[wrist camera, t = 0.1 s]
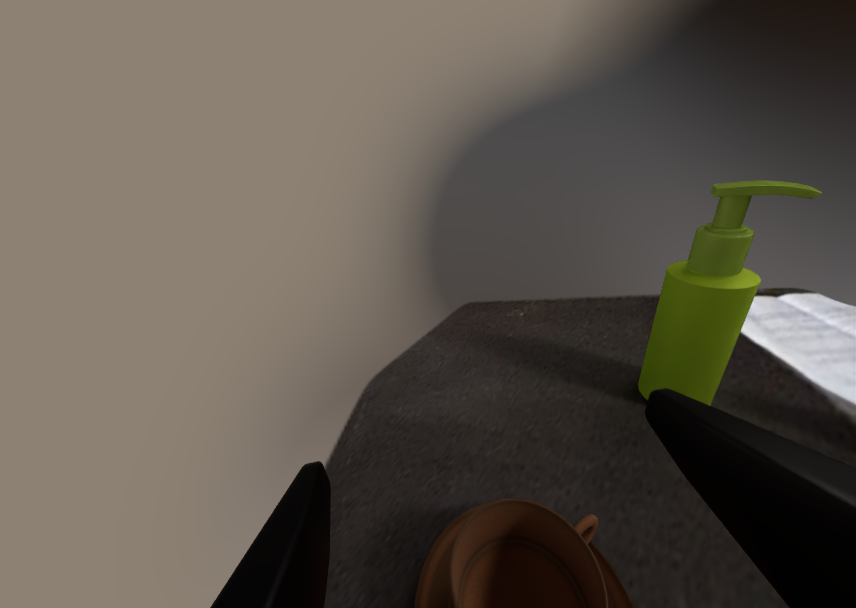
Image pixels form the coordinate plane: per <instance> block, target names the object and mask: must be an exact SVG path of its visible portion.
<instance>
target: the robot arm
mask: <svg viewBox="0 0 856 608" xmlns="http://www.w3.org/2000/svg"><path fill="white" fill-rule="evenodd" d="M645 416H646V419H647V421H648V422H649V424H650V425H651V427H652V428H653V430H654V431H655V433H656V434H657V436H658V437H659V439H660V440H661V442H662V443H663V445H664V446H665V448H666V449H667V451H668V452H669V454H670V455H671V457H672V458H673V460H674V461H675V463H676V464H677V466H678V467H679V469H680V470H681V472H682V473H683V474H684V476H685V477H686V478H687V480H688V481H689V482H690V483H691V485H692V486H693V487H694V489H695V490H696V491H697V492H698V494H699V495H700V496H701V497H702V499H703V500H704V501H705V502H706V504H707V505H708V506H709V507H710V509H711V510H712V511H713V512H714V514H715V515H716V516H717V517H718V519H719V520H720V521H721V522H722V524H723V525H724V526H725V527H726V529H727V530H728V531H729V532H730V534H731V535H732V536H733V537H734V539H735V540H736V541H737V542H738V544H739V545H740V546H741V547H742V549H743V550H744V551H745V552H746V554H747V555H748V556H749V557H750V559H751V560H752V561H753V562H754V564H755V565H756V566H757V568H758V569H759V570H760V571H761V573H762V574H763V575H764V576H765V578H766V579H767V580H768V581H769V583H770V584H771V585H772V586H773V588H774V589H775V590H776V591H777V593H778V594H779V595H780V596H781V598H782V599H783V600H784V601H785V603H786V604H787V605H788V606H789V608H856V467H854V466H851V465H849V464H847V463H844V462H842V461H839V460H837V459H835V458H832V457H830V456H828V455H825V454H823V453H820V452H818V451H816V450H813V449H811V448H809V447H806V446H804V445H802V444H799V443H797V442H794V441H792V440H790V439H787V438H785V437H783V436H780V435H778V434H775V433H773V432H771V431H768V430H766V429H764V428H761V427H759V426H757V425H754V424H752V423H749V422H747V421H745V420H742V419H740V418H738V417H735V416H733V415H730V414H728V413H726V412H723V411H721V410H719V409H716V408H714V407H711V406H709V405H707V404H704V403H702V402H700V401H697V400H695V399H693V398H690V397H688V396H685V395H683V394H681V393H678V392H676V391H674V390H671V389H668V388H663V389H658V390H654V391H652V392H651V393H650V395H649V399H648V402H647V406H646V410H645ZM330 502H331V487H330V481H329V479H328V476H327V474H326V471H325V469H324V466H323V464H322V463H321V462H320V461H317V462H313V463H308V464H305V465H304V466H303V467H302V468H301V470H300V471H299V473H298V474H297V476H296V477H295V479H294V480H293V482H292V484H291V485H290V487H289V488H288V490H287V491H286V493H285V494H284V496H283V497H282V499H281V500H280V502H279V503H278V505H277V506H276V508H275V509H274V511H273V513H272V514H271V516H270V517H269V519H268V520H267V522H266V523H265V525H264V526H263V528H262V530H261V531H260V533H259V534H258V536H257V537H256V539H255V540H254V542H253V543H252V545H251V546H250V548H249V549H248V551H247V552H246V554H245V555H244V557H243V559H242V560H241V562H240V563H239V565H238V566H237V568H236V569H235V571H234V572H233V574H232V575H231V577H230V578H229V580H228V582H227V583H226V585H225V586H224V588H223V589H222V591H221V592H220V594H219V595H218V597H217V599H216V600H215V601H214V603H213V604H212V606H211V608H324V602H325V593H326V585H327V576H328V567H329V553H330Z"/></svg>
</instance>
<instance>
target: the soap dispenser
mask: <svg viewBox="0 0 856 608" xmlns="http://www.w3.org/2000/svg"><path fill="white" fill-rule="evenodd" d="M711 193H712V195H713V197H720V200H719V203H718V207H717V210H716V213H715V216H714V220H713V223H708V224H707V225H704V226H701V227H699V228H698V229H697V230H696V234H695V237H694V241H693V244H692V248H691V251H690V255H689V258H688V260H686V261H679V262H675V263H672V264H671V265H669V266H668V267H667V271H666V275H665V279H664V283H663V287H662V291H661V295H660V299H659V302H658V306H657V310H656V314H655V318H654V322H653V326H652V330H651V334H650V338H649V342H648V346H647V350H646V354H645V358H644V362H643V366H642V370H641V374H640V378H639V382H638V388H639V391H640V393H641V394H642V395H643V397H644V398H645V399H646V400H648V399H649V395H650V393H651V392H652V391H654V390H658V389H663V388H668V389H671V390H674V391H676V392H678V393H681V394H683V395H685V396H688V397H690V398H693V399H695V400H697V401H700V402H702V403H704V404H707V405H709V406H710V405H711V403H712V400H713V398H714V395H715V393H716V390H717V388H718V385H719V383H720V380H721V378H722V375H723V373H724V371H725V368H726V366H727V363H728V361H729V358H730V356H731V353H732V351H733V348H734V346H735V343H736V341H737V338H738V336H739V334H740V331H741V329H742V326H743V324H744V321H745V319H746V316H747V314H748V311H749V309H750V306H751V304H752V301H753V299H754V296H755V294H756V292H757V289H758V287H759V284H760V281H761V279H760V277H759V276H758V275H757V274H756V273H755V272H753V271H751V270H749V269H746V268H744V267H743V264H744V262H745V258H746V256H747V253H748V250H749V248H750V245H751V242H752V240H753V237H754V231H753V230H751V229H749V228H747V226H745V225H742V223H743V220H744V217H745V214H746V211H747V209H748V206H749V203H750V200H751V197H752V195H788V196H797V197H803V198H810V199H812V198H814V197H816V196H818V195H820V194H821V193H822V192H820V191H818V190H816V189H815V188H813V187H810V186H806V185H802V184H796V183H790V182H781V181H744V182H732V183H720V184H713V186H712V190H711Z"/></svg>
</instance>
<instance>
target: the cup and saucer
mask: <svg viewBox="0 0 856 608" xmlns="http://www.w3.org/2000/svg"><path fill="white" fill-rule="evenodd" d="M597 526H598V518H597V517H596V516H595V515H593V514H589V515H586V516H585V517H583V518H582V519H581V520H580V521H579V522H578V523H577V524H576V525H575V526H573V525H571V524H570V523H569V522H568V521H566V520H565V519H564V518H563V517H561V516H560V515H559V514H557V513H556V512H554V511H553V510H551V509H549V508H547V507H546V506H543V505H541V504H539V503H536V502H533V501H530V500H525V499H518V498H506V499H499V500H495V501H492V502H489V503H485V504H482V505H479V506H476V507H474V508H471V509H469V510H467V511H466V512H464V513H462V514H461V515H459V516H458V517H457V518H455V519H454V520H453V521H452V522H451V523H450V524H449V525H448V526H447V527H446V528H445V529H444V530H443V531H442V532H441V534H440V535H439V536H438V538H437V539H436V541H435V542H434V544H433V546H432V547H431V549H430V551H429V553H428V555H427V557H426V560H425V562H424V565H423V568H422V571H421V574H420V578H419V582H418V586H417V591H416V599H415V608H634V606H633V603H632V601H631V599H630V597H629V595H628V593H627V591H626V589H625V587H624V585H623V584H622V582H621V580H620V578H619V577H618V575H617V574H616V572H615V571H614V569H613V568H612V566H611V565H610V563H609V562H608V561H607V559H606V558H605V557H604V555H603V554H602V553H601V552H600V551H599V550H598V548H597V547H596V546H595V545H594V544H593V543H592V542H591V541H590V540H591V539H592V537H593V535H594V534H595V532H596V529H597ZM583 532H584V533H583Z"/></svg>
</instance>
